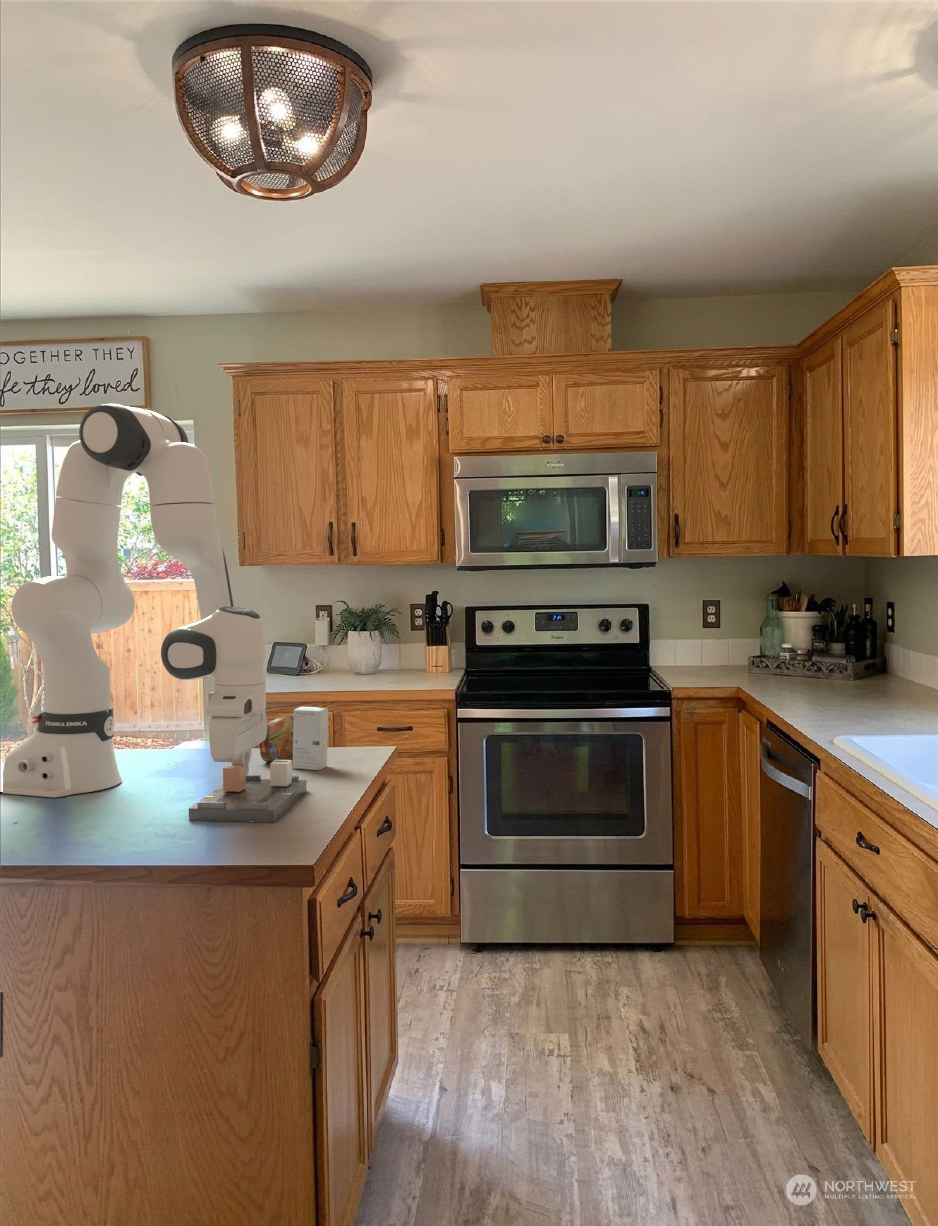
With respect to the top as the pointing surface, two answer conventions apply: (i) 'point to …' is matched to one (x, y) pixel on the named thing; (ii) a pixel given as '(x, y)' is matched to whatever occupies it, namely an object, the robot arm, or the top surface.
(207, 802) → the panel
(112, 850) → the top surface
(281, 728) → the tin
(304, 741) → the skincare box
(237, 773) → the fader
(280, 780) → the fader
